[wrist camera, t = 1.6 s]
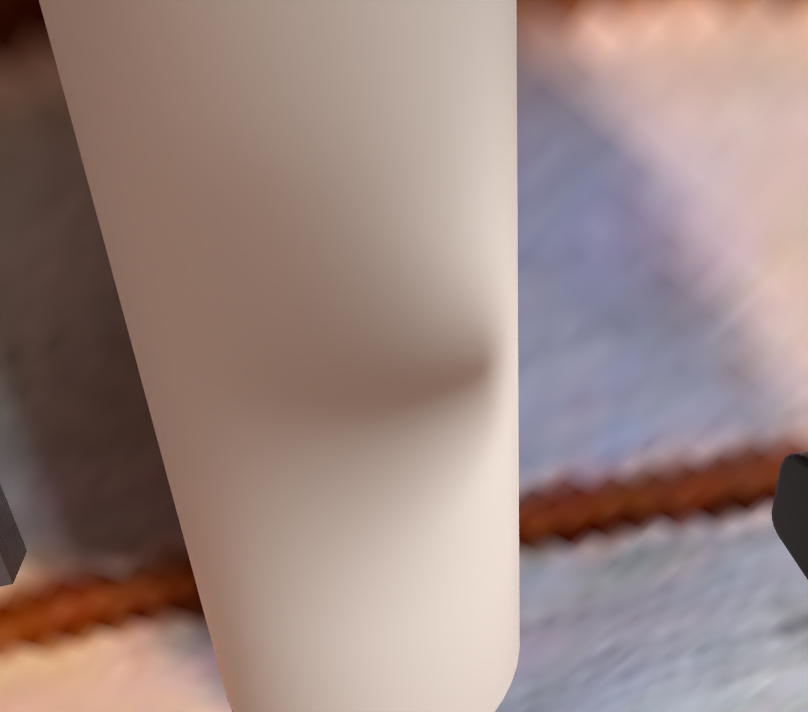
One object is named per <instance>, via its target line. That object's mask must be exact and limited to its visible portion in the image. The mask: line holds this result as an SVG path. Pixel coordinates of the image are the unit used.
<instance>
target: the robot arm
mask: <svg viewBox="0 0 808 712" xmlns="http://www.w3.org/2000/svg"><path fill="white" fill-rule="evenodd" d="M772 521H773V524H774V527H775V530H776V532H777V534H778V536H779V537H780V539H781V540H782V542H783V543H784V545H785V546H786V548H787V549H788V551H789V552H790V554H791V555H792V557H793V558H794V560H795V561H796V563H797V564H798V566H799V567H800V569H801V570H802V572H803V573H804V575H805V576H806V578H807V579H808V451H802V452H797V453H792V454H790V455H788V456H786V457H785V459H784V460H783V462H782V463H781V466H780V471H779V476H778V482H777V487H776V492H775V497H774V502H773V508H772Z"/></svg>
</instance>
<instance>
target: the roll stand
mask: <svg viewBox="0 0 808 712" xmlns="http://www.w3.org/2000/svg"><path fill="white" fill-rule="evenodd" d="M26 552H27V551H26V549H25V546H24V543H23V541H22V538H21V536H20V533H19V531H18V528H17V526H16V523H15V521H14V518H13V516H12V513H11V511H10V508H9V506H8V503H7V501H6V498H5V496H4V493H3V491H2V488H1V486H0V586H4V585H10V584H13V582H14V580H15V578H16V575H17V573H18V571H19V568H20V566H21V564H22V561H23V559H24V557H25V554H26Z"/></svg>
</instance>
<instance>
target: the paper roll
mask: <svg viewBox="0 0 808 712" xmlns="http://www.w3.org/2000/svg"><path fill="white" fill-rule="evenodd" d="M39 2H40V6H41V10H42V14H43V17H44V21H45V25H46V28H47V32H48V36H49V40H50V43H51V47H52V51H53V54H54V58H55V62H56V66H57V69H58V73H59V77H60V80H61V84H62V88H63V92H64V95H65V99H66V103H67V106H68V110H69V114H70V118H71V121H72V125H73V129H74V132H75V136H76V140H77V144H78V147H79V151H80V155H81V158H82V162H83V166H84V169H85V173H86V177H87V181H88V184H89V188H90V192H91V195H92V199H93V203H94V207H95V210H96V214H97V218H98V221H99V225H100V229H101V233H102V236H103V240H104V244H105V247H106V251H107V255H108V259H109V262H110V266H111V270H112V273H113V277H114V281H115V285H116V288H117V292H118V296H119V299H120V303H121V307H122V311H123V314H124V318H125V322H126V325H127V329H128V333H129V337H130V340H131V344H132V348H133V351H134V355H135V359H136V363H137V366H138V370H139V374H140V377H141V381H142V385H143V389H144V392H145V396H146V400H147V403H148V407H149V411H150V415H151V418H152V422H153V426H154V429H155V433H156V437H157V440H158V444H159V448H160V452H161V455H162V459H163V463H164V466H165V470H166V474H167V478H168V481H169V485H170V489H171V492H172V496H173V500H174V504H175V507H176V511H177V515H178V518H179V522H180V526H181V530H182V533H183V537H184V541H185V544H186V548H187V552H188V556H189V559H190V563H191V567H192V570H193V574H194V578H195V582H196V585H197V589H198V593H199V596H200V600H201V604H202V608H203V611H204V615H205V619H206V622H207V626H208V630H209V634H210V637H211V641H212V645H213V648H214V652H215V656H216V660H217V663H218V667H219V671H220V674H221V678H222V682H223V685H224V689H225V693H226V697H227V699H228V702H229V704H230V707H231V709H232V712H495V710H496V709H497V707H498V706H499V704H500V703H501V701H502V700H503V699H504V697H505V695H506V693H507V691H508V689H509V687H510V685H511V682H512V680H513V677H514V673H515V670H516V667H517V663H518V655H519V447H518V238H517V28H516V0H39Z"/></svg>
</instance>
